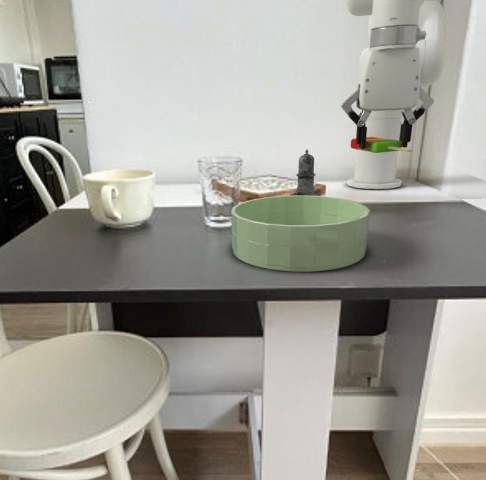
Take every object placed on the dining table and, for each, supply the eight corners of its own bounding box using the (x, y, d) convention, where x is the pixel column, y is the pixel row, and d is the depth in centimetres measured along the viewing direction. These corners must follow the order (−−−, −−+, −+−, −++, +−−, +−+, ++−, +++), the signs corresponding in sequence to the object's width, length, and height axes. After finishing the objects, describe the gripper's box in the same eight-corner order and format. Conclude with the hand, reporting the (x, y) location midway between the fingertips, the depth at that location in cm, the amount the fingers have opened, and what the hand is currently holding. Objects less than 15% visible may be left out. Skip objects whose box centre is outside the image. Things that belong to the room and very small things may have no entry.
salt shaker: (319, 210, 86) (322, 147, 82) (321, 217, 81) (324, 150, 77) (289, 210, 87) (290, 147, 83) (288, 217, 82) (290, 151, 78)
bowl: (236, 231, 74) (236, 196, 72) (351, 230, 72) (354, 194, 70) (227, 271, 57) (226, 226, 55) (379, 272, 54) (384, 225, 52)
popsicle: (371, 145, 90) (372, 136, 89) (422, 155, 77) (424, 143, 76) (347, 148, 89) (348, 138, 88) (395, 158, 75) (397, 146, 75)
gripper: (438, 39, 78) (423, 143, 85) (337, 45, 80) (332, 146, 87) (454, 34, 71) (437, 148, 78) (344, 42, 73) (337, 151, 80)
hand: (382, 146), depth 82 cm, fingers closed on popsicle, 6 cm apart
